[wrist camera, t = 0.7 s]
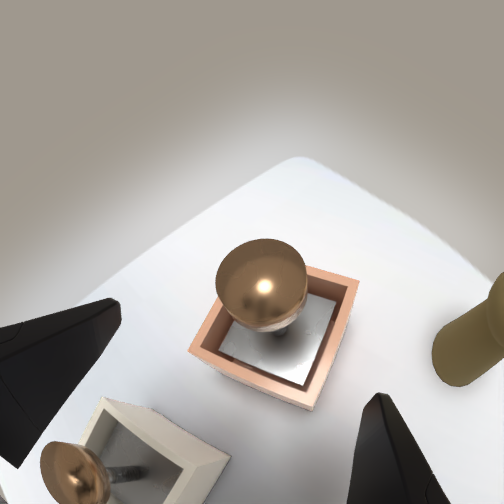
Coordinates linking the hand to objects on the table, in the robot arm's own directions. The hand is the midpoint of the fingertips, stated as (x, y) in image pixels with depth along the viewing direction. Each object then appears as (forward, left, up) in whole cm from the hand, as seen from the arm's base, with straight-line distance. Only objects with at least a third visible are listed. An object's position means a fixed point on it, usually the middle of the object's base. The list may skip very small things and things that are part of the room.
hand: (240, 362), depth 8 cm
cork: (+8, -13, -14) cm, 21 cm away
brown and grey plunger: (+4, +2, -10) cm, 11 cm away
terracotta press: (+4, +2, -14) cm, 15 cm away
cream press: (-10, +6, -14) cm, 18 cm away
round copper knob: (-10, +6, -10) cm, 15 cm away
